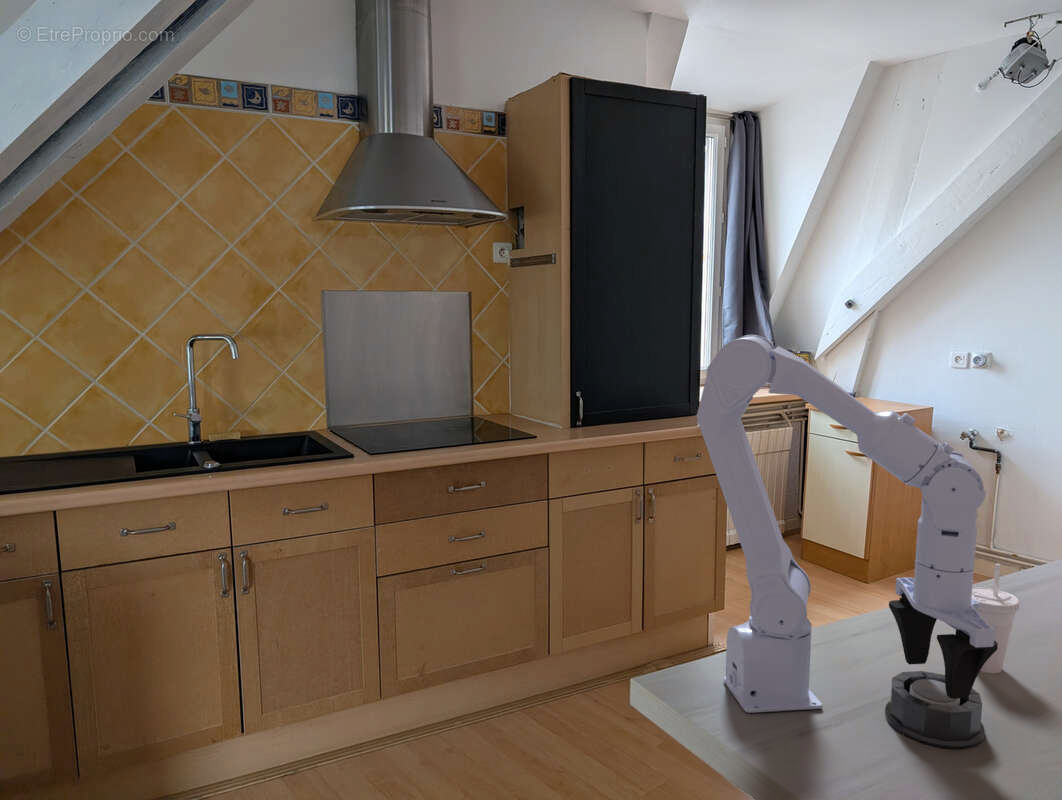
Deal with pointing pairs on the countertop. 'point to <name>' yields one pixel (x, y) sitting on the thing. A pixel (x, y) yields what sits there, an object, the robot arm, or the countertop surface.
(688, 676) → the countertop surface
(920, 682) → the cap
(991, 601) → the smoothie
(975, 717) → the dark grey pot
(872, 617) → the countertop surface
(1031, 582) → the countertop surface
